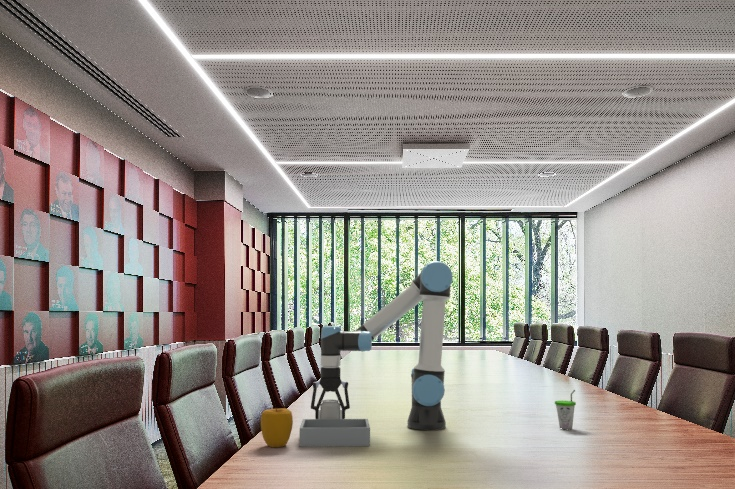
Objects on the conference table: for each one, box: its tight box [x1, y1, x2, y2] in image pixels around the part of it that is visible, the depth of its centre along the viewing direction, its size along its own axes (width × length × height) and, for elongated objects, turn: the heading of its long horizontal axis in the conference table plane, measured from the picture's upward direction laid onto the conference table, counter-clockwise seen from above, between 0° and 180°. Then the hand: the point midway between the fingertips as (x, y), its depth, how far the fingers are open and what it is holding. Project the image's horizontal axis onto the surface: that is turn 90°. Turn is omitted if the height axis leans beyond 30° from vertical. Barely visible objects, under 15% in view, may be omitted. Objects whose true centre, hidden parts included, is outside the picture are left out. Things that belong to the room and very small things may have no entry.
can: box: [319, 399, 341, 419], centre depth 233 cm, size 8×8×12 cm
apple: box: [260, 407, 294, 448], centre depth 210 cm, size 11×11×13 cm
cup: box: [554, 389, 577, 430], centre depth 241 cm, size 8×8×15 cm
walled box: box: [298, 418, 371, 447], centre depth 218 cm, size 24×18×6 cm
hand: (330, 427), depth 233 cm, fingers closed on can, 7 cm apart
